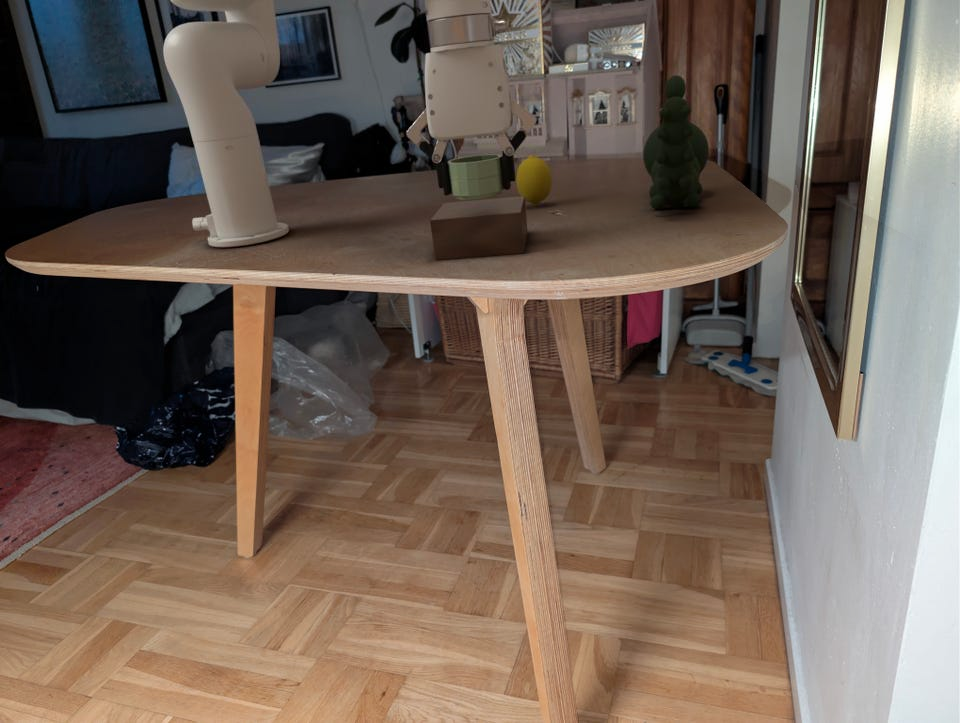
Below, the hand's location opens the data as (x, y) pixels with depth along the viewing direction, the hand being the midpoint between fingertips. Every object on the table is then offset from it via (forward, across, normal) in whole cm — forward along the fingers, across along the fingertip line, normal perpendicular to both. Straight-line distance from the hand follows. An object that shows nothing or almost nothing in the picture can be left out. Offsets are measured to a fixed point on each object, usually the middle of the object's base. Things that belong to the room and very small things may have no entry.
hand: (477, 189), depth 88 cm
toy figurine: (+8, -27, -17) cm, 32 cm away
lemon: (+7, -6, -24) cm, 26 cm away
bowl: (+1, 0, 0) cm, 1 cm away
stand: (+7, 0, 0) cm, 7 cm away
